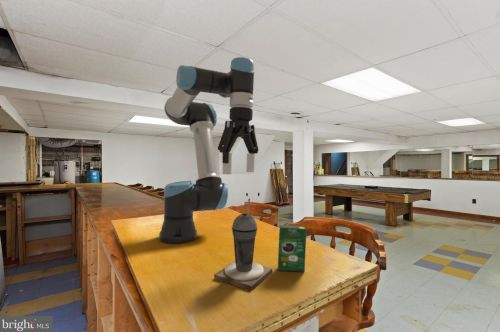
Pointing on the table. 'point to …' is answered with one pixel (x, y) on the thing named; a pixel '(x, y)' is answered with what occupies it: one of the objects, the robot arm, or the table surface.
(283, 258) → the coffee box
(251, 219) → the beverage cup
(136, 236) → the table surface
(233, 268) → the mount
